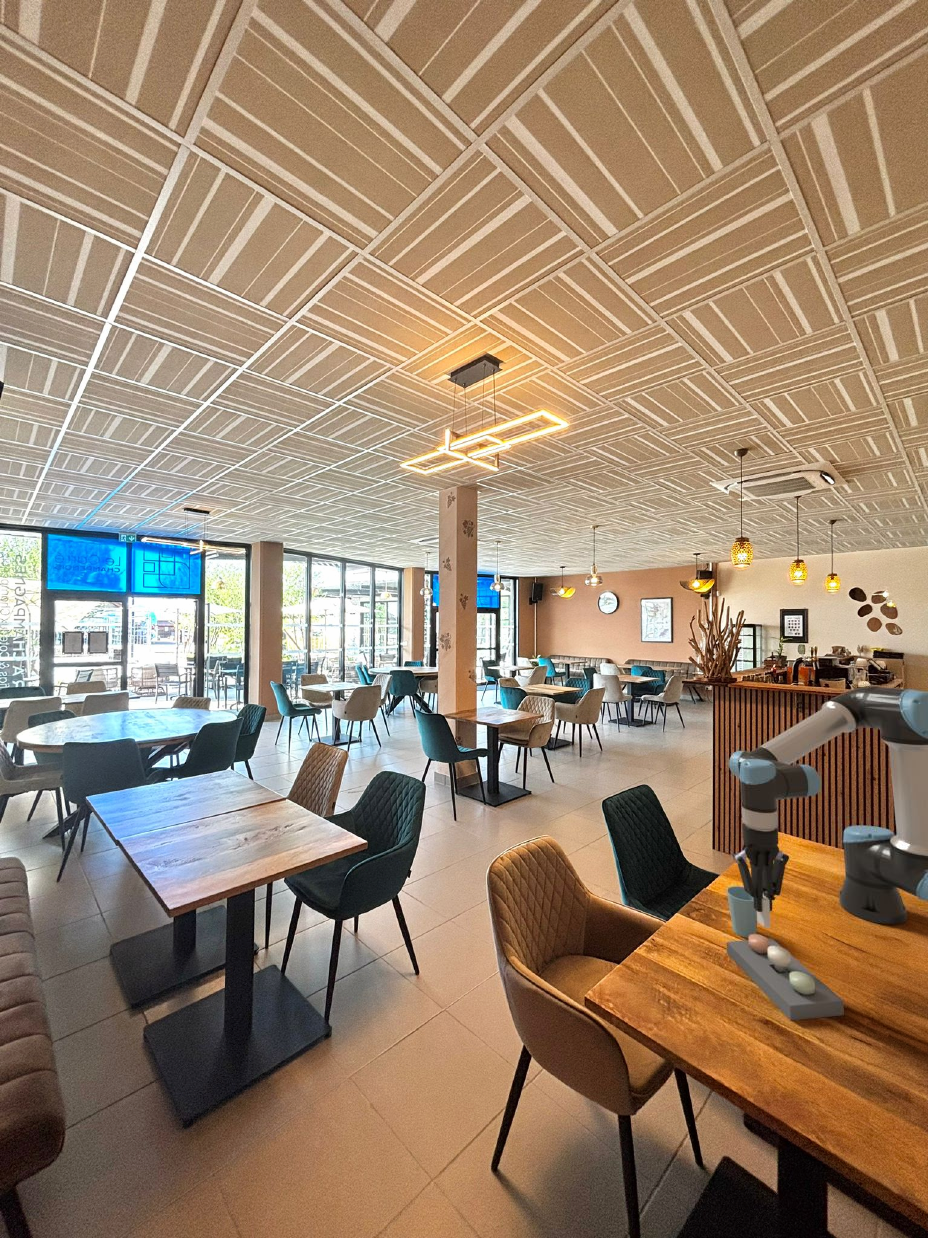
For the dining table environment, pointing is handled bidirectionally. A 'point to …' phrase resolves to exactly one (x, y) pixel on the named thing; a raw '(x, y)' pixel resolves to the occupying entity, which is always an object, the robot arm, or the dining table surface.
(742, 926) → the cup
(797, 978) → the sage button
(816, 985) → the gray rectangular slab
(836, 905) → the dining table surface
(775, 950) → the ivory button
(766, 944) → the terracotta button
